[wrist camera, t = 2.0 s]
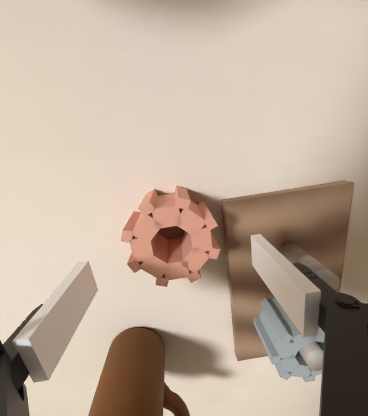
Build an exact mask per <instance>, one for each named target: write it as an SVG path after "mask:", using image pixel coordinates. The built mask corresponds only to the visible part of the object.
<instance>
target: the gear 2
mask: <svg viewBox="0 0 368 416" xmlns="http://www.w3.org/2000/svg"><path fill="white" fill-rule="evenodd" d="M260 305H261V306H262V308H263V310H262V312H261V314H260V316H259V317H256V318H253V320H254V326H255V328H256V330H257V332H258V335H259V337H260V339H261V341H262V343H263V345H264V348H265V350H266V352H267V354H268V356H269V358H270V360H271V363H272V364H275V367H276V369H277V371H278V373H279V375H280V377H282V378H284V379H286V380H287V379H289V378H290V377H291V376H296V377H303V379H304V381H305V382H309V381H315V376H316V375H319V374H321V373H322V370H321V371H312V370H310V368H309V367H308V365H307V364H306V362H305V360H304V359H303V357H302V356H301V354H300V352H299V349H300V347H302V346H304V345H306V344H308V343H310V342H312V341H316V342H317V344H318V345H319V346H320V348H321V349H322V350H323V351H324V349H323V348H324V337H325V333H324V332H323V331H322V329H321V328H320V327H319V328H318V335H316V336H310V337H304V338H303V336H302V335H301V334H300V332H299V331H298V329H297V328H296V326H295V325H294V324H293V322H292V321H291V319H290V318H289V317H288V315H287V314H286V312H285V311H284V309H283V308H282V307H281V305H280V304H279V302H278V301H277V300H276V298H274V299H272V300H268V299H267V298H265V299H264V300H263V301H262V302H261V303H260Z"/></svg>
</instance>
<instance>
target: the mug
mask: <svg viewBox="0 0 368 416" xmlns="http://www.w3.org/2000/svg"><path fill="white" fill-rule="evenodd" d="M164 364H165V348H164V343H163V341H162V339H161V338H160V336H159V335H158V334H157V333H155V332H153V331H151V330H149V329H145V328H131V329H128V330H125V331H123V332H121V333H120V334H119V335H118V336H116V337H115V339H114V340H113V342H112V344H111V346H110V349H109V352H108V355H107V358H106V361H105V364H104V367H103V370H102V373H101V376H100V380H99V383H98V386H97V389H96V392H95V396H94V399H93V402H92V405H91V408H90V412H89V416H163V407H164V408H165V409H167V410H170V411H171V412H172V413H173V414H174V416H190V414H189V411H188V409H187V406H186V404H185V403H184V401H183V400H182V398H181V397H180V396H179V395H177V394H176V393H174V392H172V391H171V390H170V389H169V387H168V386H167V385H166V384H165V382H164Z"/></svg>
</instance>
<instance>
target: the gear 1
mask: <svg viewBox="0 0 368 416" xmlns="http://www.w3.org/2000/svg"><path fill="white" fill-rule="evenodd" d="M138 209H139V210H140V211H141V213H139V212H133V214H132V215H131V217H130V219H129V220H128V222H127V224H126V225H125V227H124V229H123V232H122V238H121V241H123V242H129V243H130V245H131V249H132V253H131V256H130V258H129V261H128V264H127V265H128V266H129V267H130V268H131V269H132V271H133V272H134V273H135V272H137V271H139V270H140V269H142V270H144V271H146V272H148V273H149V274H151V275H153V276H154V277H156V285H159V286H165V287H167V284H168V281H169V280H173V279H179V278H185V277H187V278H188V279H189V280H190V282H191V283H192V282H194V281H196V280H198V279H200V278H201V275H200V270H199V269H200V268H201V267H202V266H203V265H204V263H205V262H206V261H207V260H208V259H209V258H211V259H216V260H217V258H218V255H219V252H220V248H219V245H218V243H217V241H216V239H215V237H214V235H213V233H212V231H211V230H212V229H213V228H215V227H217V226H218V225H217V223H216V221H215V219H214V218H213V216H212V214H211V213H210V211H209V209H208V208H207V206H206V204H205V203H204V201H202V202H200V203H199V204H196V203H195V202H194V201H192V200H191V199H190V197H189V194H188V192H187V189H186V188H183V187H179V186H176V190H175V193H170V194H163V195H158V194H157V192H156V191H155V189H154V190H152V191H151V192H149V193H147V194H146V195H145V197H144V199H143V201H142V202H141V204H140V206H139V208H138ZM172 226H178V227H180V228H181V229H183V230H184V231H185V233H184V234H183V235H182V236H181V237H179V238H173V239H167V238H165V237H164V236H162V235H161V234H159V233H158V231H159V229H160V228H166V227H172Z"/></svg>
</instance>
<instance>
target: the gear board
mask: <svg viewBox="0 0 368 416" xmlns="http://www.w3.org/2000/svg"><path fill="white" fill-rule="evenodd" d="M353 185H354V183H353V182H348V181H339V182H333V183H326V184H320V185H314V186H307V187H301V188H294V189H288V190H281V191H275V192H268V193H262V194H255V195H249V196H242V197H236V198H229V199H223V200H222V204H223V216H224V228H225V240H226V252H227V264H228V275H229V287H230V299H231V311H232V323H233V334H234V346H235V354H236V357H237V361H241V360H247V359H253V358H259V357H265V356H268V354H267V352H266V350H265V348H264V345H263V343H262V341H261V339H260V337H259V335H258V332H257V330H256V328H255V326H254V320H253V318H256V317H259V316H260V314H261V312H262V310H263V308H262V306H261V305H260V303H261V302H262V301H263V300H264V299H265V298H267V299H268V300H272V299H274V298H275V297H274V295H273V294H272V292H271V291H270V290H269V288H268V287H267V285H266V284H265V283H264V281H263V280H262V278H261V277H260V275H259V274H258V273H257V271H256V270H255V268H254V267H253V266H252V252H251V235H256V234H261V235H262V236H263V237H264V238H265V239H266V240H267V241H268V242H269V243H270V244H271V245H272V246H273V247H275V248H276V249H277V250H278V251H279V252H280V253H281V254H282V255H283V256H284V257H285V258H286V259H287V260H288V261H290V262H291V263H301V264H303V265H305V266H307V267H308V268H309V269H311V270H312V271H313V273H315V274H316V275H318V277H320V278H321V279H322V280H323V281H325V282H326V283H327V284H328V285H329V286H331V287H332V288H333V289H334V290H335V291H336V292H338V293H339V292H340V285H341V277H342V269H343V262H344V254H345V246H346V239H347V231H348V223H349V216H350V208H351V200H352V193H353ZM299 352H300V354H301V356H302V357H303V359H304V360H305V362H306V364H307V365H308V367H309V368H310V370H312V371H321V370H322V367H323V350H322V349H321V348H320V346H319V345H318V344H317V342H316V341H312V342H310V343H308V344H306V345H304V346H302V347H300V349H299Z"/></svg>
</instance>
